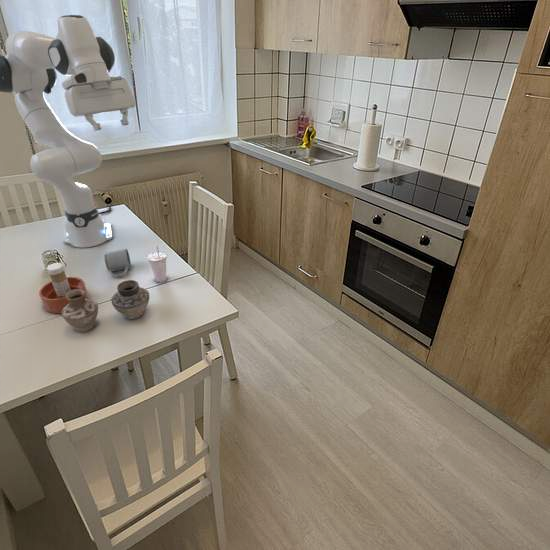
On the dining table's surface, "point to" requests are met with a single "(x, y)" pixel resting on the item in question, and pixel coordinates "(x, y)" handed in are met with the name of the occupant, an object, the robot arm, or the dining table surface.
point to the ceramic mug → (117, 261)
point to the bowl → (50, 296)
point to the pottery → (124, 301)
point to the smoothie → (158, 265)
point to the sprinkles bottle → (59, 279)
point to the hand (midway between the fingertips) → (112, 127)
